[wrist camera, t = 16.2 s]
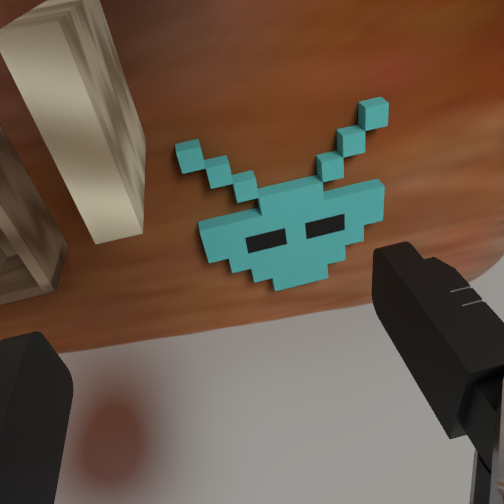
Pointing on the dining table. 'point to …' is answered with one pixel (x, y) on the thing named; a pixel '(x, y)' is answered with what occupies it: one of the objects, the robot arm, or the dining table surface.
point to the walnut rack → (25, 233)
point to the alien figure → (292, 211)
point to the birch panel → (82, 110)
